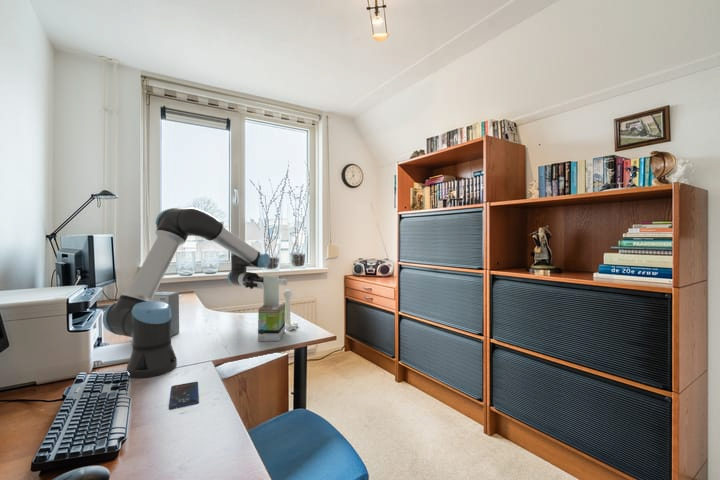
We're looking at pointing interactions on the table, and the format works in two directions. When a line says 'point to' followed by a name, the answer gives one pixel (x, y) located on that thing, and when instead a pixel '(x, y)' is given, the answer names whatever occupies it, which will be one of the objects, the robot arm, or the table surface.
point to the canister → (271, 291)
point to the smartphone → (184, 395)
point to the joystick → (288, 311)
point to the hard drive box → (173, 302)
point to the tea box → (271, 322)
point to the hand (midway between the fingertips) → (274, 284)
